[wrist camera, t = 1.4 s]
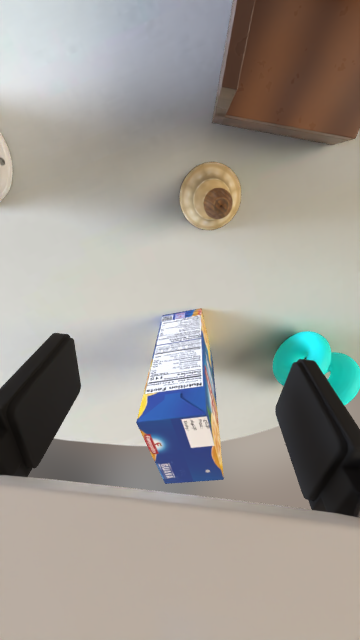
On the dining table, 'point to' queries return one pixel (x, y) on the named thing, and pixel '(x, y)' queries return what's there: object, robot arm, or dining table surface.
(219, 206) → the hand bell
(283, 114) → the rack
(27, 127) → the dining table surface
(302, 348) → the donuts
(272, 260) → the dining table surface
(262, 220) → the dining table surface
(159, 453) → the beverage box
